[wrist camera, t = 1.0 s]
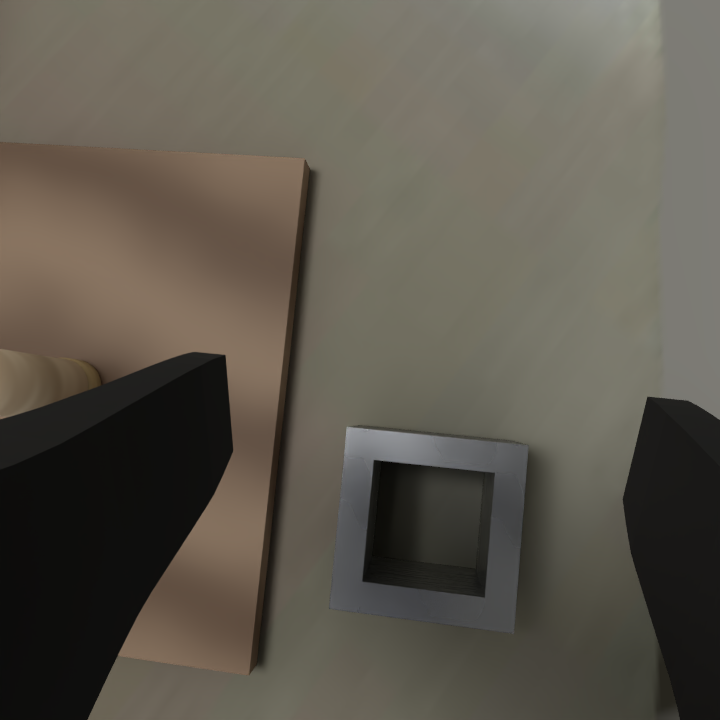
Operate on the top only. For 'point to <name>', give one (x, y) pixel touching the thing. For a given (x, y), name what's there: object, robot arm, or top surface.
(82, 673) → the robot arm
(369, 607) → the collar
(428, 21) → the top surface
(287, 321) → the board
